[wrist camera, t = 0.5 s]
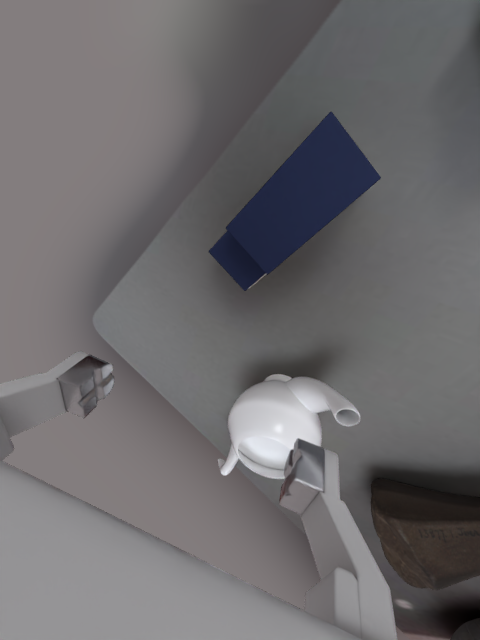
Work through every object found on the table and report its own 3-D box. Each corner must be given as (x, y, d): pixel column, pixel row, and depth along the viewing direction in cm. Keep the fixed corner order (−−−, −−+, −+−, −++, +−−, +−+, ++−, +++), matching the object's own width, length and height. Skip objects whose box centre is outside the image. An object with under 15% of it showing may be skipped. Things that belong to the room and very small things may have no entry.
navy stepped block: (330, 122, 19) (330, 102, 14) (373, 179, 20) (387, 179, 15) (218, 244, 26) (191, 259, 21) (253, 283, 26) (236, 306, 22)
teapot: (208, 401, 37) (176, 461, 29) (315, 313, 26) (309, 371, 18) (259, 442, 37) (240, 511, 30) (381, 374, 27) (403, 454, 19)
